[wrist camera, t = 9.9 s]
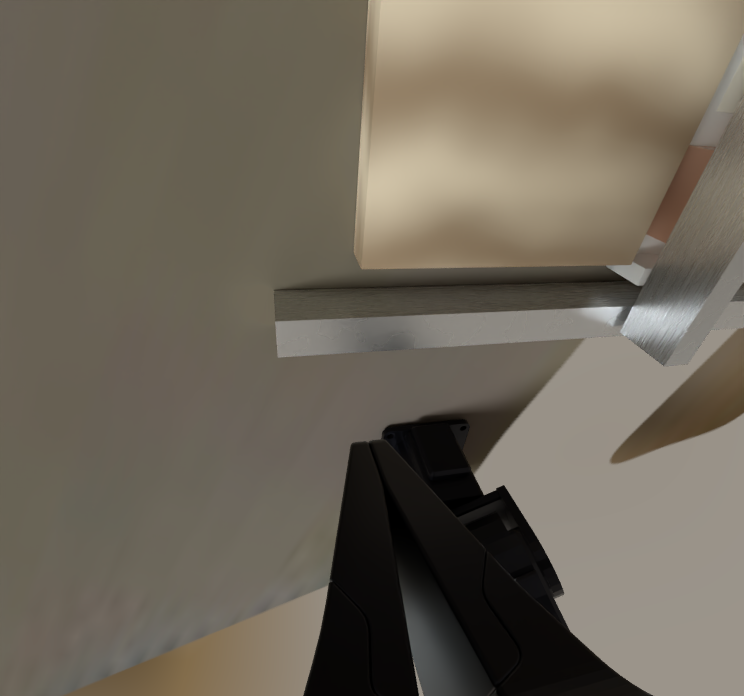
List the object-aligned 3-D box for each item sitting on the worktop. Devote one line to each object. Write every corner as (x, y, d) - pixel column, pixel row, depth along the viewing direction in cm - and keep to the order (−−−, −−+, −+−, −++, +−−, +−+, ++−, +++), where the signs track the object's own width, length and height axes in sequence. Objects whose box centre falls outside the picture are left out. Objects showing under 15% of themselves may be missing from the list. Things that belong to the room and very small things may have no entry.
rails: (724, 303, 28) (767, 326, 26) (276, 324, 21) (277, 357, 19) (1028, -150, 16) (1159, -185, 14) (225, -441, 9) (213, -610, 7)
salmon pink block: (706, 233, 24) (755, 253, 21) (643, 233, 23) (688, 253, 20) (754, 149, 21) (816, 161, 19) (686, 144, 20) (743, 156, 18)
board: (606, 250, 23) (631, 265, 22) (353, 252, 20) (361, 269, 18) (743, -62, 16) (796, -75, 14) (377, -144, 12) (393, -172, 11)
